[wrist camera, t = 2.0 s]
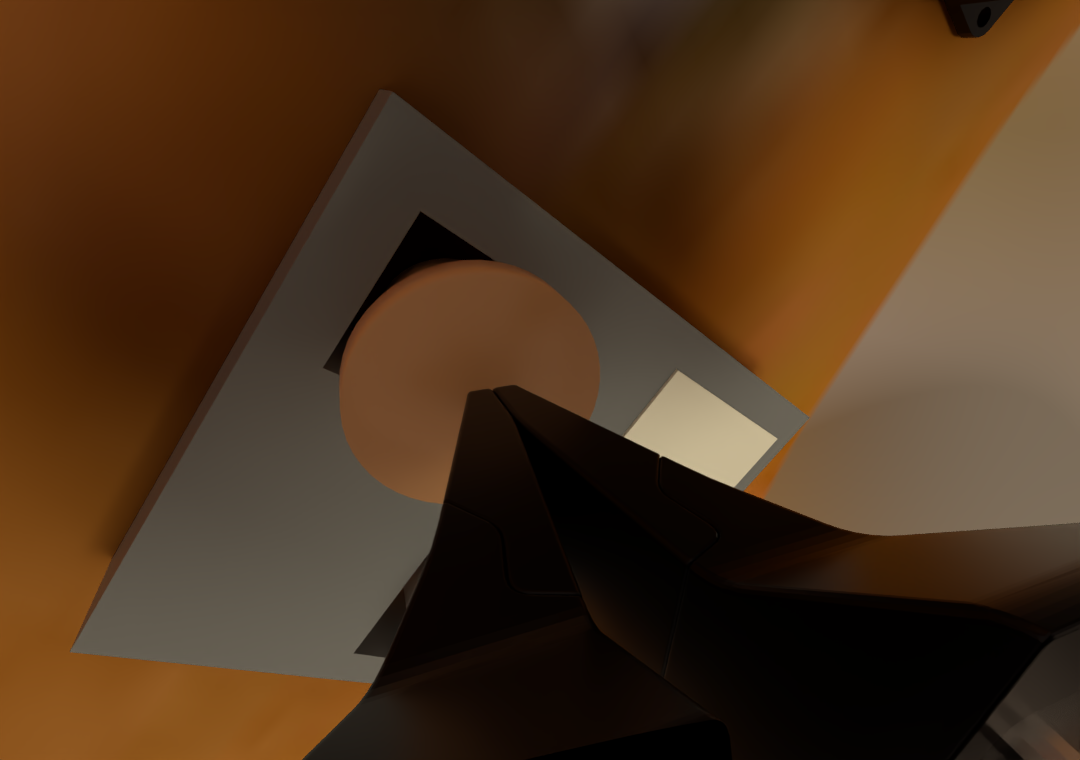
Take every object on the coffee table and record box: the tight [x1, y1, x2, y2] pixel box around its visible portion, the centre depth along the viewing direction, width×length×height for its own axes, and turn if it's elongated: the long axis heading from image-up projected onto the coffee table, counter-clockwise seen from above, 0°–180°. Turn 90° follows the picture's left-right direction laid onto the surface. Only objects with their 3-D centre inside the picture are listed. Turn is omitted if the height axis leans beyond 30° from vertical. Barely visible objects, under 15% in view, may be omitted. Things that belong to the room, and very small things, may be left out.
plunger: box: [339, 258, 600, 504], centre depth 11 cm, size 5×5×4 cm
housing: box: [70, 89, 809, 683], centre depth 16 cm, size 15×16×3 cm
